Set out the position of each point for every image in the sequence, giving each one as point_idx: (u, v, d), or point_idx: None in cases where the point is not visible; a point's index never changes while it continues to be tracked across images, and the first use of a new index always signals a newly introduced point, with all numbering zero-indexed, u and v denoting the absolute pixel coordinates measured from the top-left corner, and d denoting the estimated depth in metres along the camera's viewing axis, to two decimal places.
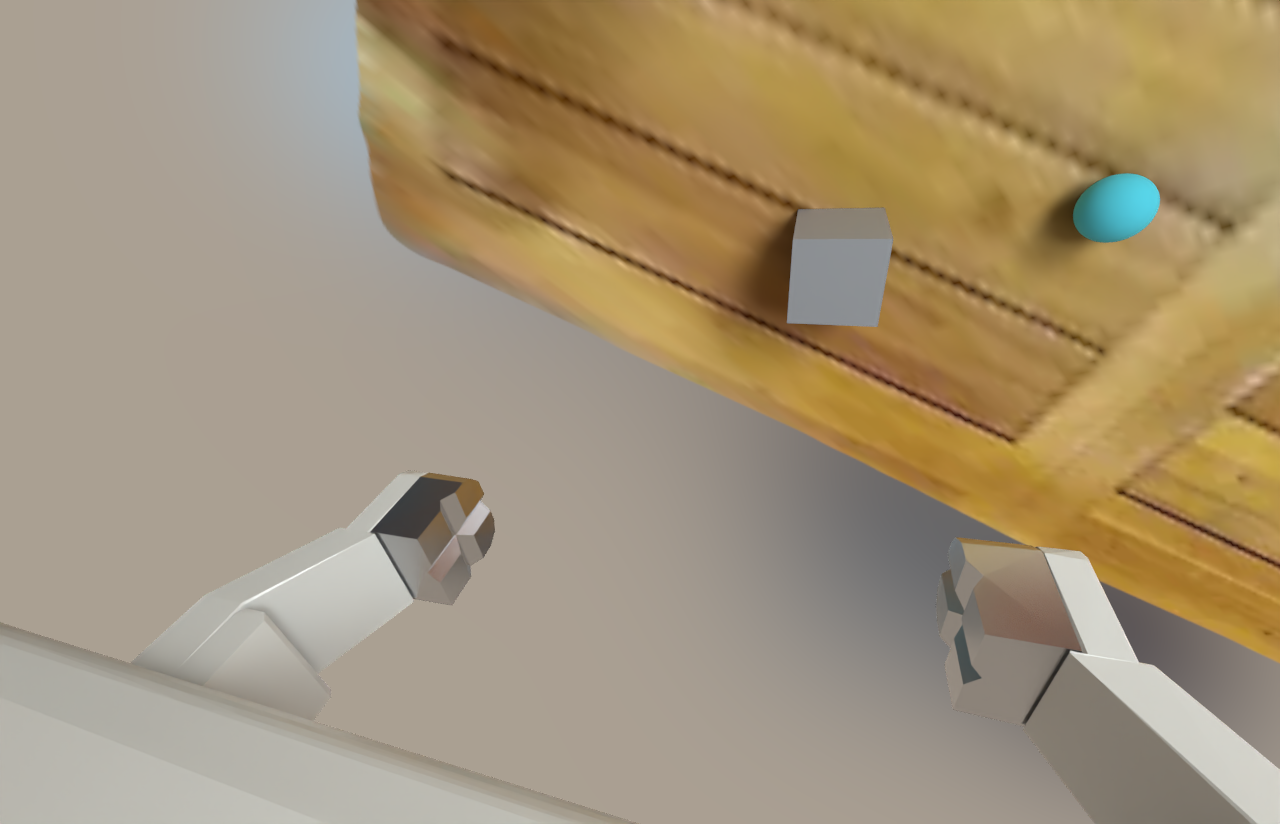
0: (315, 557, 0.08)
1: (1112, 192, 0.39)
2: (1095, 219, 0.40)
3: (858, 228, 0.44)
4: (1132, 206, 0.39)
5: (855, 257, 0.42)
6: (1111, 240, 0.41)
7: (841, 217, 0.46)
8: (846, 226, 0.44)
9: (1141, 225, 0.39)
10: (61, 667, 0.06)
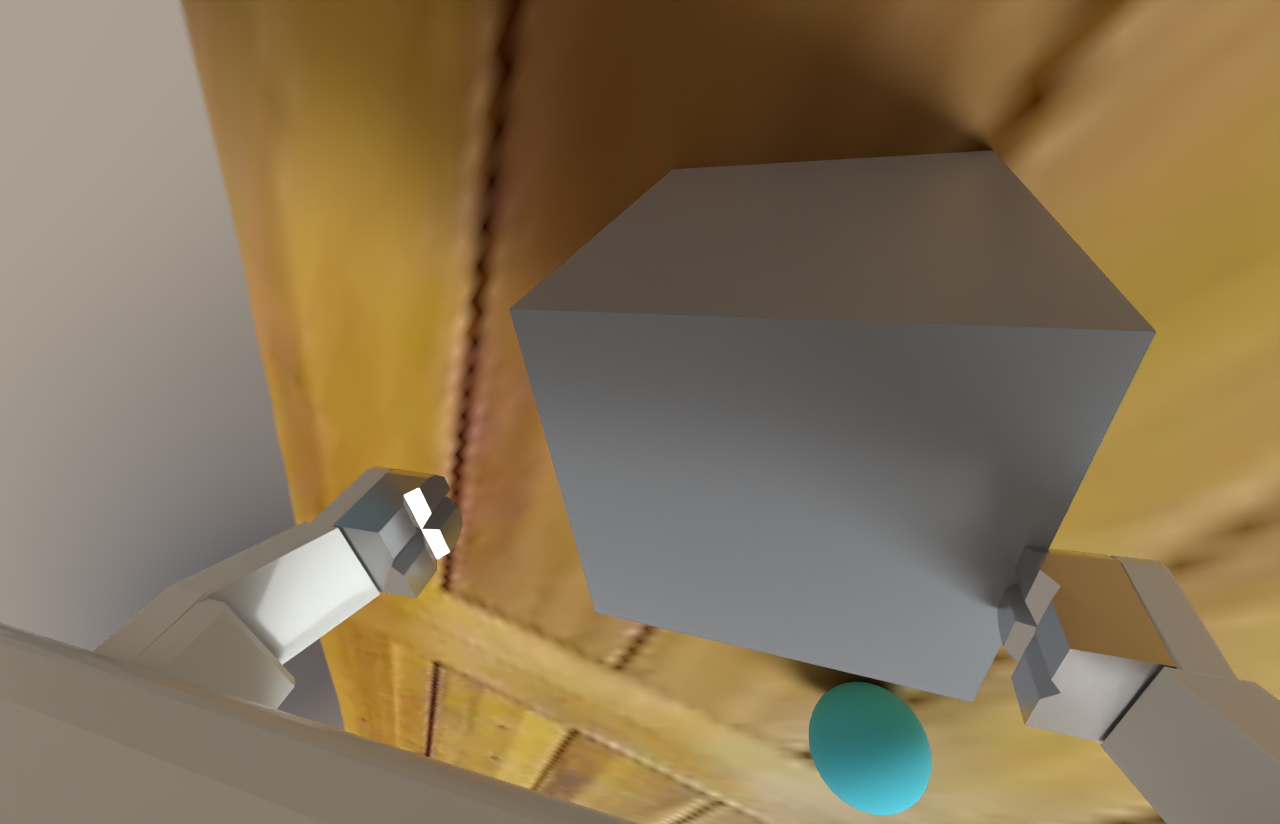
0: (278, 550, 0.09)
1: (914, 782, 0.21)
2: (865, 769, 0.21)
3: None
4: (888, 811, 0.21)
5: (906, 599, 0.09)
6: (818, 766, 0.23)
7: None
8: None
9: (847, 803, 0.23)
10: (61, 667, 0.06)
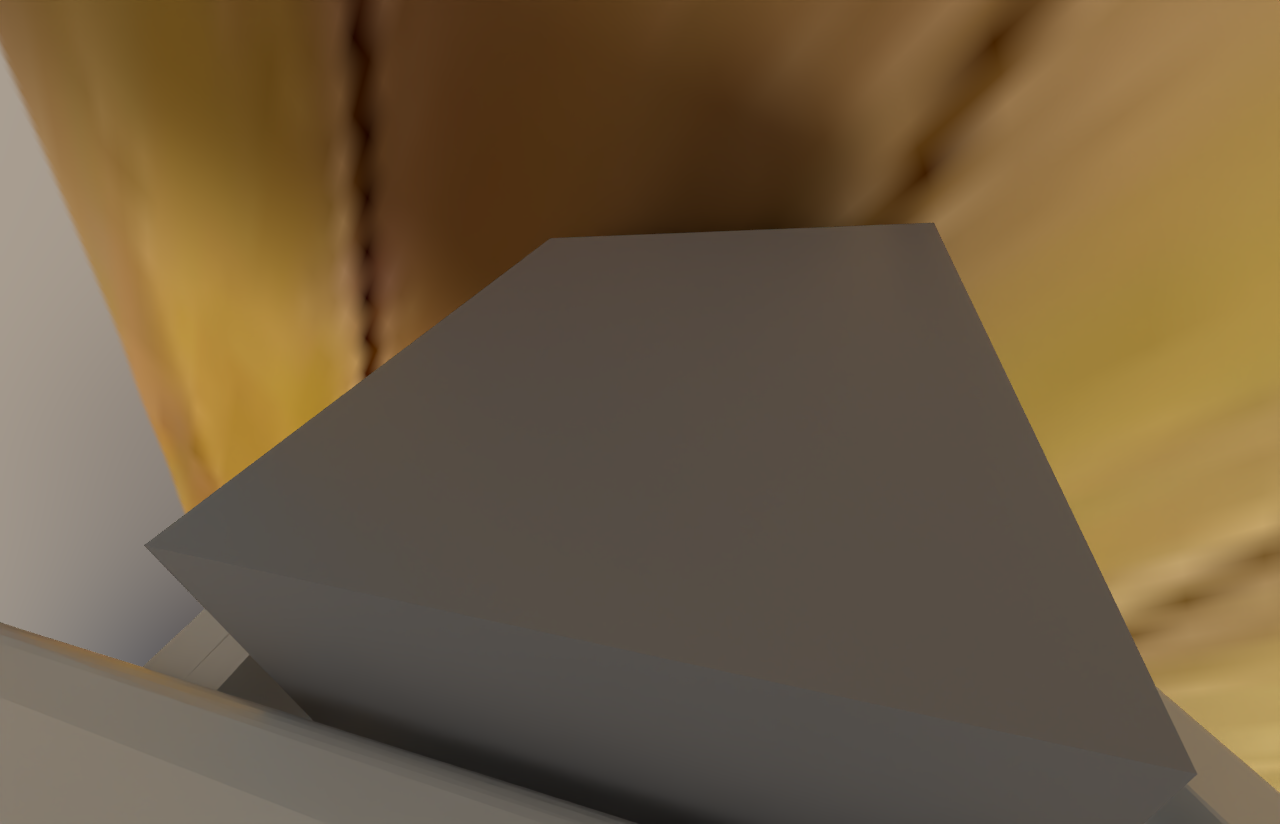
0: None
1: None
2: None
3: None
4: None
5: None
6: None
7: None
8: None
9: None
10: (61, 667, 0.06)
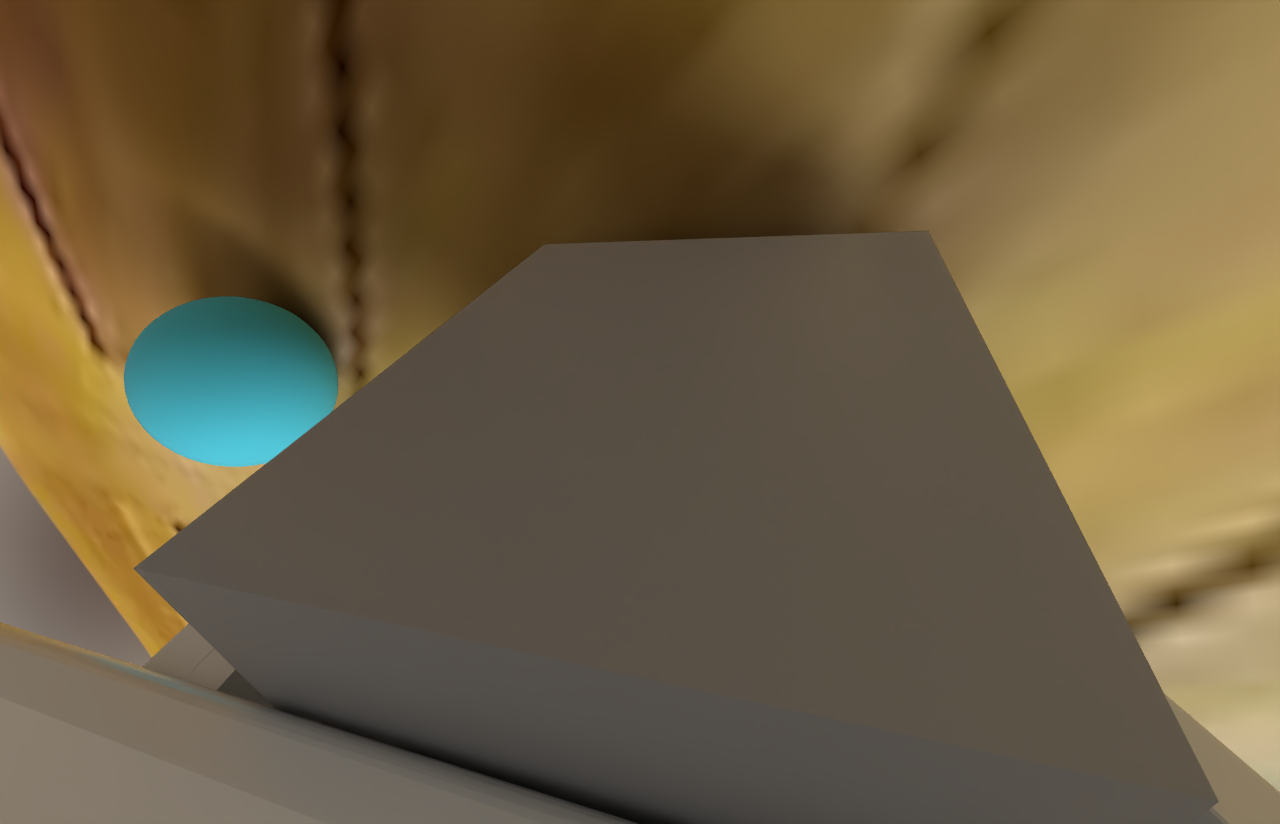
0: None
1: (288, 341, 0.15)
2: (199, 354, 0.13)
3: None
4: (284, 400, 0.14)
5: None
6: (163, 433, 0.14)
7: None
8: None
9: (247, 453, 0.15)
10: (61, 667, 0.06)
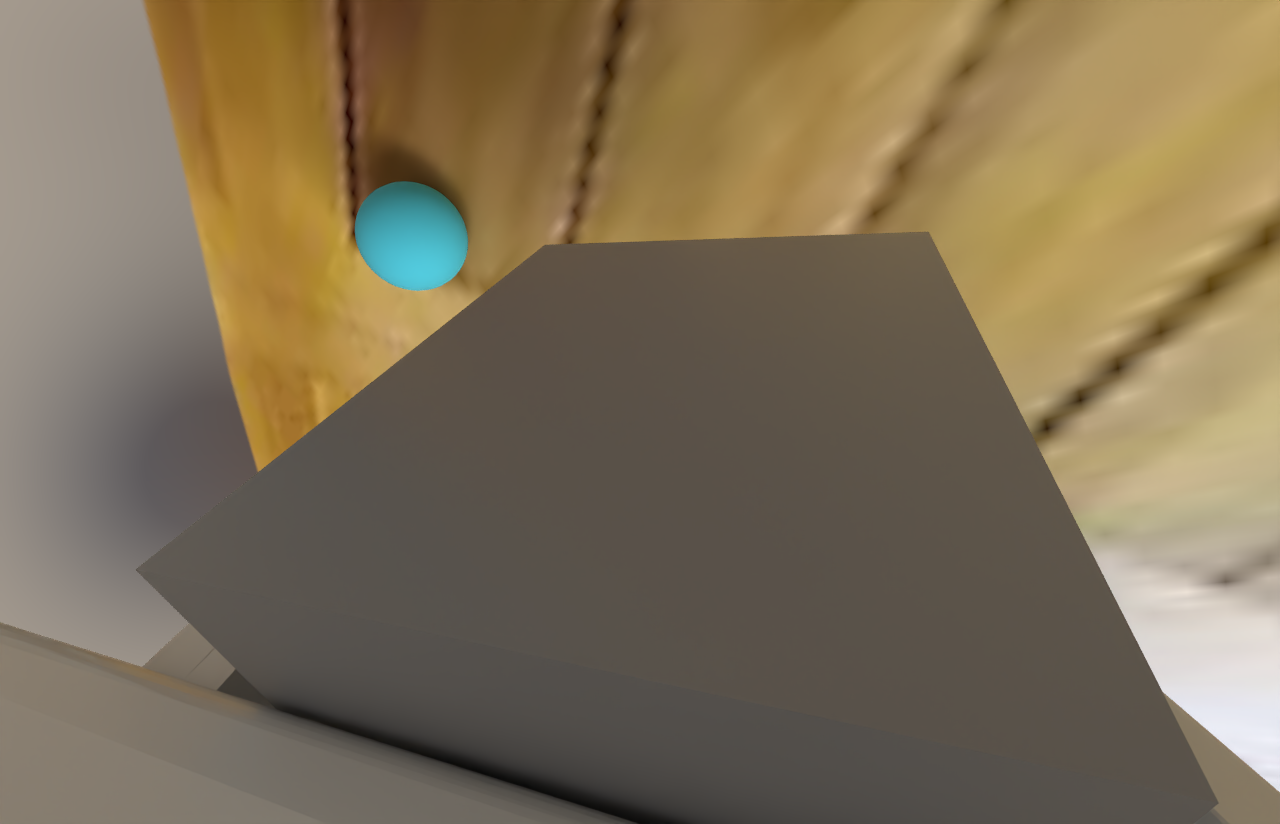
0: None
1: (362, 225, 0.23)
2: None
3: None
4: (359, 249, 0.25)
5: None
6: None
7: None
8: None
9: None
10: (61, 667, 0.06)
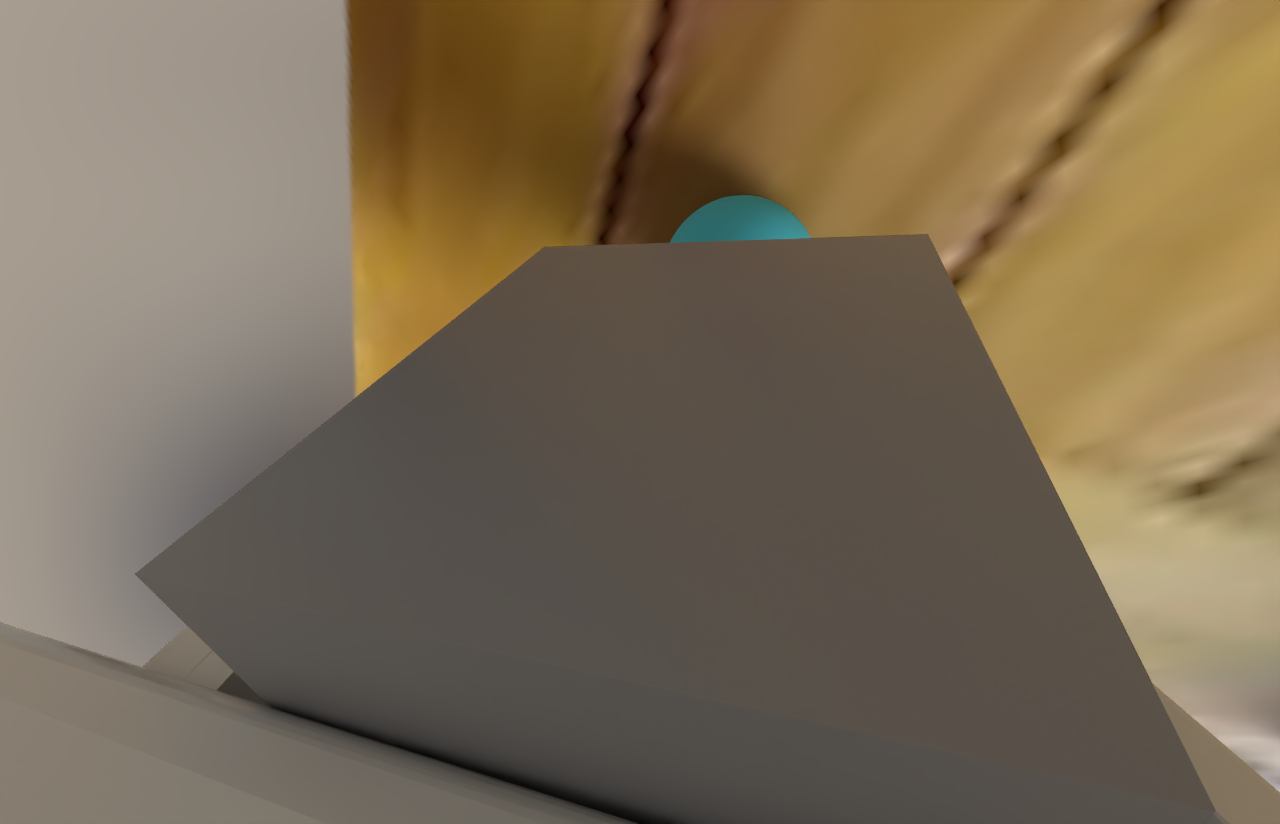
0: None
1: None
2: (679, 229, 0.17)
3: None
4: None
5: None
6: None
7: None
8: None
9: None
10: (61, 667, 0.06)
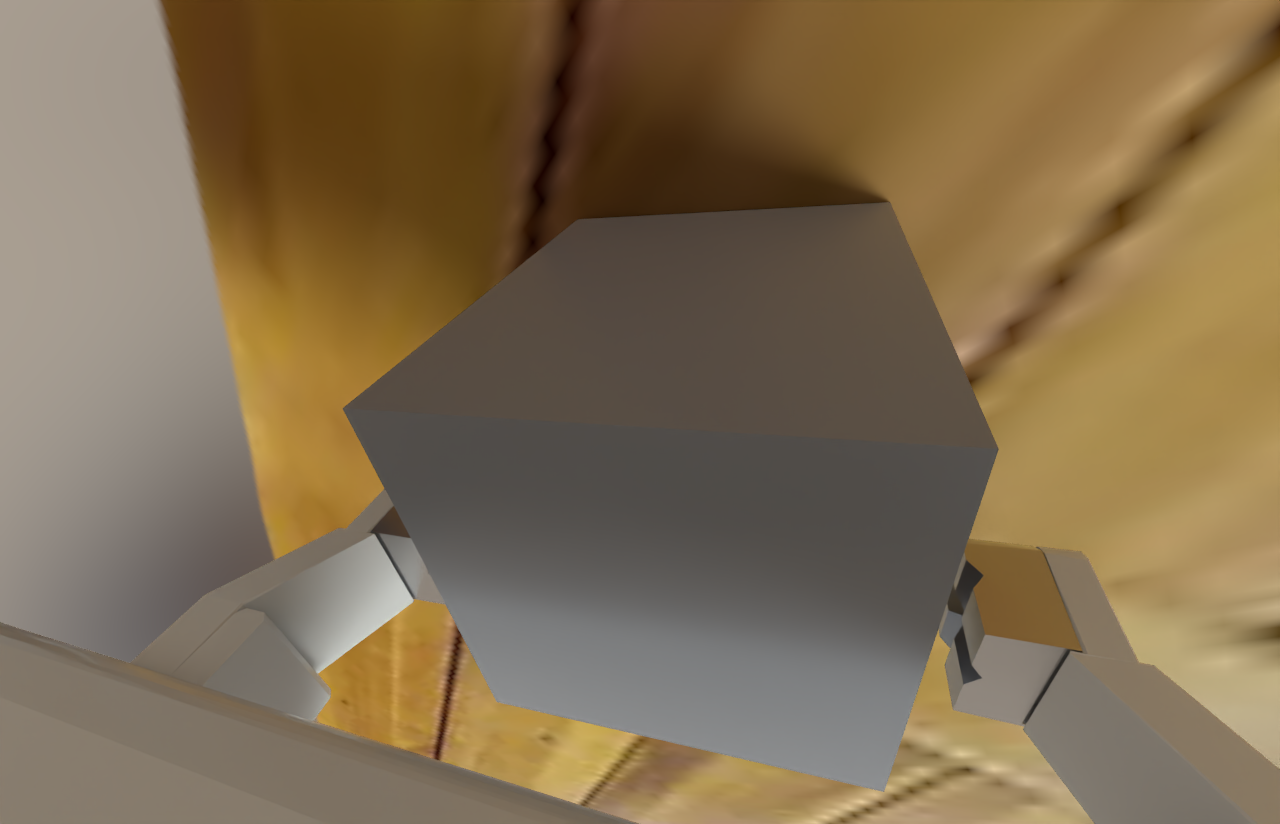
0: (315, 557, 0.08)
1: None
2: None
3: None
4: None
5: (801, 696, 0.08)
6: None
7: None
8: None
9: None
10: (61, 667, 0.06)
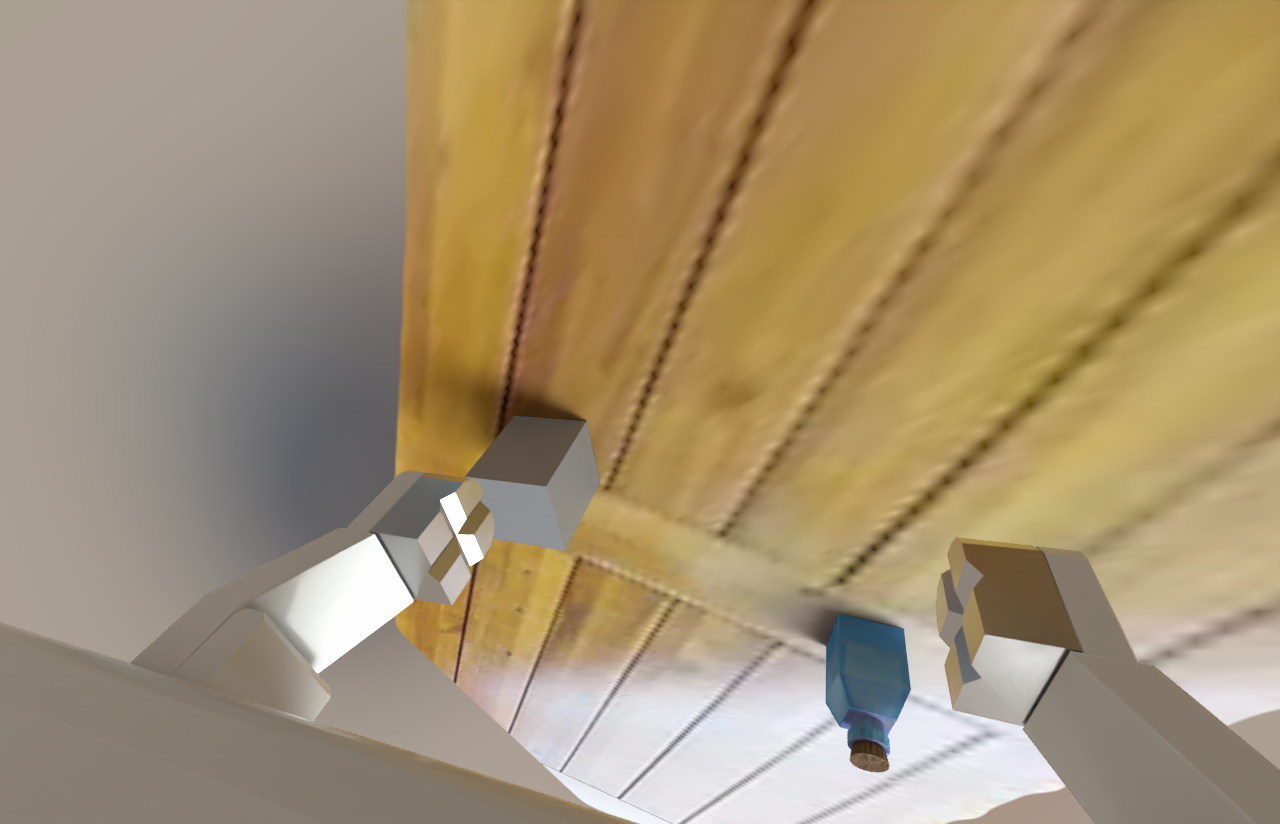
0: (315, 557, 0.08)
1: None
2: None
3: (571, 508, 0.46)
4: None
5: (543, 527, 0.45)
6: None
7: (582, 472, 0.48)
8: (572, 494, 0.46)
9: None
10: (61, 667, 0.06)
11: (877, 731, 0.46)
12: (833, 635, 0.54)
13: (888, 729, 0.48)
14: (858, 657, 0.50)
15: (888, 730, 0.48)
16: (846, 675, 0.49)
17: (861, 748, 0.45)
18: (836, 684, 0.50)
